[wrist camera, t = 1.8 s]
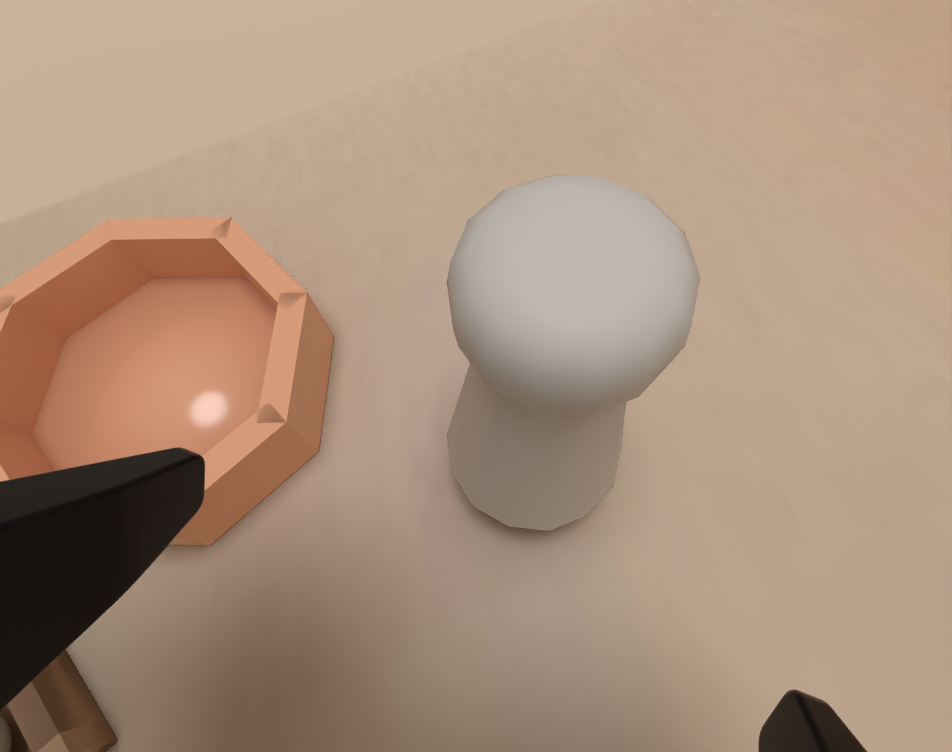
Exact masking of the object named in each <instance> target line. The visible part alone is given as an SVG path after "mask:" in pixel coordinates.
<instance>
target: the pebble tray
mask: <svg viewBox="0 0 952 752" xmlns="http://www.w3.org/2000/svg"><path fill="white" fill-rule="evenodd" d="M0 715H2V716H3V718H4V719H5V720H6V722H7V723H8V725H9V727H10V730H11V735H12V747H11V752H106V751H107V750H108V749H109V748H110V747H111V746H112V745H113V744H114V743H115V742H116V741H117V739H116V738H115V736H114V734H113V732H112V731H111V729H110V727H109V725H108V724H107V722H106V720H105V718H104V717H103V715H102V713H101V711H100V710H99V708H98V706H97V704H96V703H95V701H94V699H93V698H92V696H91V694H90V692H89V691H88V689H87V687H86V685H85V684H84V682H83V680H82V678H81V677H80V675H79V673H78V671H77V670H76V668H75V666H74V664H73V663H72V661H71V659H70V657H69V656H68V654H67V652H66V651H65V650H64V651H63V652H62V653H61V654H60V655H59V656H58V657H57V658H56V659H55V660H54V661H53V662H52V663H50V664H49V665H48V666H47V667H46V668H45V669H44V670H43V671H42V672H41V673H40V674H39V675H38V676H37V677H36V678H35V679H34V680H32V681H31V682H30V683H29V684H28V685H27V686H26V687H25V688H24V689H23V690H22V691H21V692H20V693H19V694H18V695H17V696H16V697H14V698H13V699H12V700H11V701H10V702H9V703H8V704H7V705H6V706H5V707H4V708H3V709H2V710H1V711H0Z"/></svg>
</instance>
